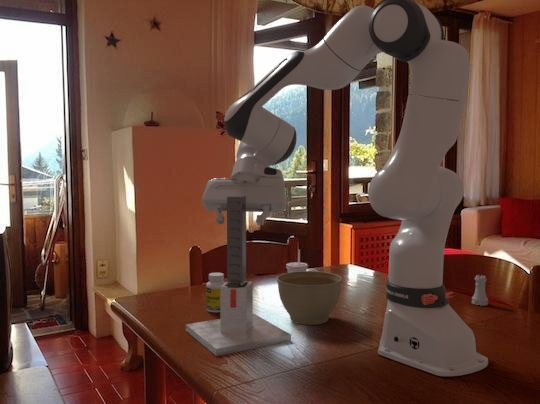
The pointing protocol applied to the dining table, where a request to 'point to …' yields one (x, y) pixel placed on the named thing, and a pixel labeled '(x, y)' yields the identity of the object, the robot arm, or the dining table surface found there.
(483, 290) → the rook chess piece
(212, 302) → the supplement bottle
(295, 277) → the planter bowl
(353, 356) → the dining table surface
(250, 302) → the stand
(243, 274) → the post
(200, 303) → the dining table surface
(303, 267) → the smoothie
